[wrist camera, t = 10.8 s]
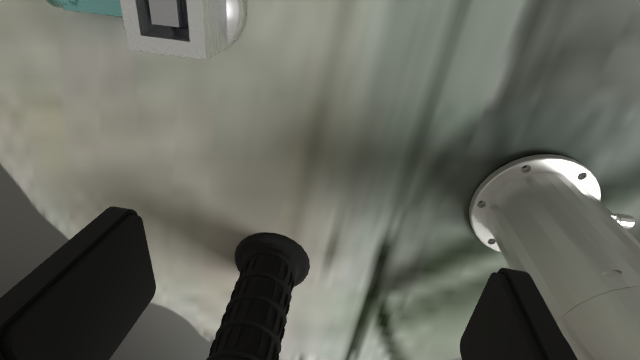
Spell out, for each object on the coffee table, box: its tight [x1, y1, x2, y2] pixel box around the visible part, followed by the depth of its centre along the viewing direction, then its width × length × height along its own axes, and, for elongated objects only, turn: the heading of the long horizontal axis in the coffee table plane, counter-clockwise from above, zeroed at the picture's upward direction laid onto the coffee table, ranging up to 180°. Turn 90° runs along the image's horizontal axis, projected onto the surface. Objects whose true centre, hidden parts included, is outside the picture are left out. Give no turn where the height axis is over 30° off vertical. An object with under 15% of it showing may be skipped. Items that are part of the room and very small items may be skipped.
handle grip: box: [207, 233, 310, 360], centre depth 34 cm, size 10×26×10 cm
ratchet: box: [47, 0, 247, 46], centre depth 27 cm, size 16×8×7 cm, turn 84°
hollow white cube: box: [120, 0, 228, 60], centre depth 26 cm, size 6×6×5 cm
